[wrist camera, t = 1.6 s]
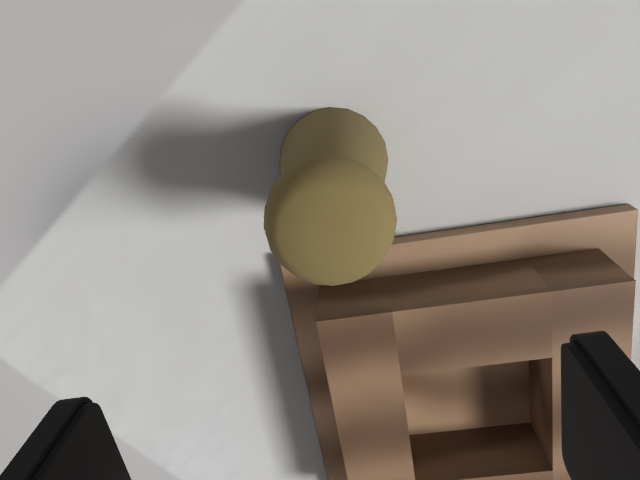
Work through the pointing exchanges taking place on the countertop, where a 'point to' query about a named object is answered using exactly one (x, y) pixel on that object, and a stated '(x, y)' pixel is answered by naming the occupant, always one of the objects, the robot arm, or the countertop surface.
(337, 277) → the cork
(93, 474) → the robot arm
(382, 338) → the post socket block
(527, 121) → the countertop surface
